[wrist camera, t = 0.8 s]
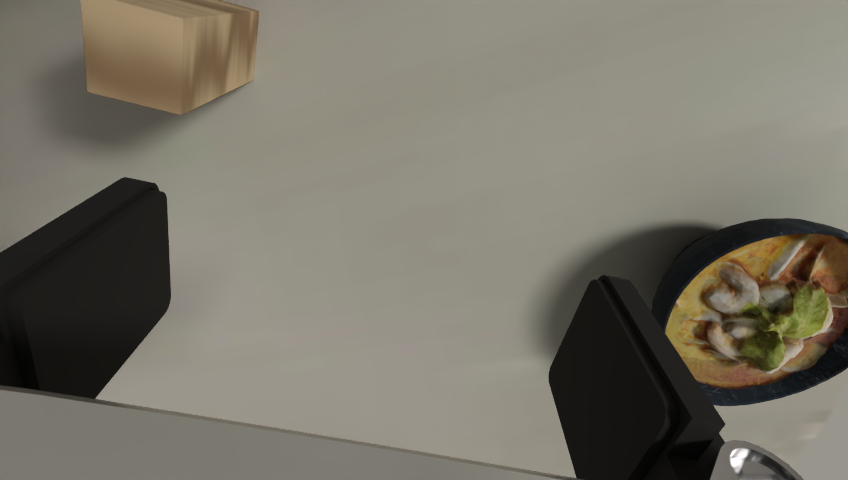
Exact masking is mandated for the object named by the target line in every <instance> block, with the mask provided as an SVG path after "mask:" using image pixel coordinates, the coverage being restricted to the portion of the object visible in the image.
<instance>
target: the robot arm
mask: <svg viewBox="0 0 848 480" xmlns="http://www.w3.org/2000/svg"><path fill="white" fill-rule="evenodd" d="M170 300H171V287H170V263H169V239H168V215H167V198H166V195H165V193H164V192H161V191H159V189H158V186H157V185H156V184H155V183H151V182H146V181H141V180H136V179H131V178H126V177H124V178H121V179H120V180H118V181H116V182H115V183H113V184H111V185H110V186H108V187H107V188H105V189H103V190H102V191H100V192H98V193H97V194H95V195H94V196H92V197H90V198H89V199H87V200H85V201H84V202H82V203H80V204H79V205H77V206H76V207H74V208H72V209H71V210H69V211H67V212H66V213H64V214H63V215H61V216H59V217H58V218H56V219H54V220H53V221H51V222H50V223H48V224H46V225H45V226H43V227H41V228H40V229H38V230H37V231H35V232H33V233H32V234H30V235H28V236H27V237H25V238H24V239H22V240H20V241H19V242H17V243H15V244H14V245H12V246H11V247H9V248H7V249H6V250H4V251H2V252H1V253H0V480H803V478H802V477H801V476H800V475H799V474H798V473H797V472H796V471H795V470H794V469H793V468H791V467H790V466H789V465H788V464H787V463H786V462H784V461H783V460H781V459H780V458H779V457H777V456H776V455H774V454H773V453H771V452H769V451H767V450H765V449H764V448H762V447H760V446H758V445H755V444H752V443H749V442H746V441H739V440H732V441H728V442H724V440H723V439H722V437H721V436H720V434H719V432H720V431H721V429H722V428H723V427H724V425H725V423H724V421H723V420H722V418H721V417H720V415H719V414H718V412H717V411H716V409H715V408H714V406H713V405H712V403H711V402H710V400H709V399H708V397H707V396H706V394H705V393H704V391H703V390H702V388H701V387H700V385H699V384H698V382H697V381H696V379H695V378H694V376H693V375H692V373H691V372H690V370H689V369H688V367H687V366H686V364H685V363H684V361H683V360H682V358H681V357H680V355H679V353H678V352H677V350H676V349H675V347H674V346H673V344H672V343H671V341H670V340H669V338H668V337H667V335H666V334H665V332H664V331H663V329H662V328H661V326H660V325H659V323H658V322H657V320H656V319H655V317H654V316H653V314H652V313H651V311H650V310H649V308H648V307H647V305H646V304H645V302H644V301H643V299H642V298H641V296H640V295H639V293H638V292H637V290H636V289H635V287H634V286H633V284H632V283H631V282H630V281H629V280H625V279H620V278H616V277H611V276H606V275H603V276H601V277H600V278H599V279H598V280H592V281H591V282H590V283H589V285H588V287H587V289H586V291H585V294H584V296H583V298H582V300H581V302H580V304H579V307H578V309H577V311H576V313H575V315H574V317H573V319H572V322H571V324H570V326H569V328H568V330H567V332H566V335H565V337H564V339H563V341H562V343H561V345H560V347H559V350H558V352H557V354H556V356H555V358H554V360H553V363H552V365H551V367H550V371H549V384H550V387H551V391H552V394H553V398H554V401H555V405H556V408H557V412H558V415H559V419H560V422H561V425H562V429H563V432H564V436H565V439H566V443H567V446H568V450H569V453H570V457H571V460H572V464H573V467H574V470H575V474H576V477H577V478H571V477H566V476H560V475H554V474H548V473H542V472H536V471H530V470H525V469H519V468H513V467H507V466H501V465H495V464H490V463H484V462H478V461H472V460H466V459H460V458H454V457H449V456H443V455H437V454H431V453H425V452H419V451H413V450H407V449H401V448H395V447H389V446H383V445H377V444H371V443H365V442H359V441H352V440H346V439H340V438H334V437H328V436H322V435H316V434H310V433H304V432H298V431H292V430H285V429H279V428H273V427H267V426H261V425H255V424H249V423H242V422H236V421H230V420H223V419H217V418H211V417H205V416H198V415H192V414H186V413H179V412H173V411H167V410H161V409H154V408H148V407H142V406H135V405H129V404H123V403H117V402H110V401H104V400H98V399H95V398H96V397H97V395H98V394H99V393H100V392H101V391H102V389H103V388H104V387H105V386H106V384H107V383H108V382H109V381H110V380H111V378H112V377H113V376H114V375H115V374H116V372H117V371H118V370H119V369H120V367H121V366H122V365H123V364H124V363H125V361H126V360H127V359H128V358H129V357H130V355H131V354H132V353H133V352H134V350H135V349H136V348H137V347H138V346H139V344H140V343H141V342H142V341H143V340H144V338H145V337H146V336H147V335H148V333H149V332H150V331H151V330H152V329H153V327H154V326H155V325H156V324H157V323H158V321H159V320H160V319H161V318H162V316H163V315H164V314H165V313H166V311H167V309H168V307H169V304H170Z"/></svg>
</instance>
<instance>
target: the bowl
mask: <svg viewBox="0 0 848 480" xmlns="http://www.w3.org/2000/svg"><path fill="white" fill-rule="evenodd" d="M651 313H652V314H653V316H654V317H655V319H656V320H657V322H658V323H659V325H660V326H661V328H662V329H663V331H664V332H665V334H666V335H667V337H668V338H669V340H670V341H671V343H672V344H673V346H674V347H675V349H676V350H677V352H678V353H679V355H680V357H681V358H682V360H683V361H684V363H685V364H686V366H687V367H688V369H689V370H690V372H691V373H692V375H693V376H694V378H695V379H696V381H697V382H698V384H699V385H700V387H701V388H702V390H703V391H704V393H705V394H706V396H707V397H708V399H709V400H710V402H711V403H712V405H718V406H738V405H749V404H755V403H761V402H765V401H770V400H774V399H778V398H782V397H785V396H789V395H792V394H795V393H798V392H801V391H804V390H807V389H809V388H811V387H814V386H816V385H818V384H820V383H822V382H824V381H826V380H828V379H830V378H832V377H834V376H836V375H837V374H839V373H841V372H843V371H844V370H846V369H847V368H848V233H847V232H845V231H844V230H840V229H837V228H834V227H831V226H828V225H824V224H819V223H815V222H810V221H806V220H801V219H790V218H786V219H759V220H753V221H747V222H743V223H740V224H736V225H732V226H729V227H726V228H723V229H721V230H719V231H716V232H714V233H711V234H709V235H706V236H704V237H702V238H700V239H698V240H696V241H694V242H693V243H692V244H690V245H689V246H687V247H686V248H685V249H684V250H683V251H682V252H681V253H680V254H679V255H678V256H677V258H676V259H675V261H674V263H673V264H672V265H671V267H670V268H669V269H668V271H667V272H666V274H665V275H664V277H663V279H662V281H661V282H660V284H659V286H658V288H657V291H656V294H655V297H654V300H653V305H652V311H651Z"/></svg>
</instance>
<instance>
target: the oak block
mask: <svg viewBox="0 0 848 480" xmlns="http://www.w3.org/2000/svg"><path fill="white" fill-rule="evenodd" d="M81 12H82V26H83V40H84V54H85V68H86V82H87V92H90V93H94V94H98V95H102V96H106V97H110V98H114V99H118V100H122V101H126V102H131V103H135V104H139V105H143V106H147V107H151V108H155V109H159V110H163V111H167V112H171V113H175V114H179V115H183V114H185V113H187V112H189V111H191V110H193V109H195V108H197V107H199V106H201V105H203V104H205V103H207V102H209V101H211V100H213V99H215V98H217V97H219V96H221V95H224V94H226V93H228V92H230V91H232V90H234V89H236V88H238V87H240V86H242V85H244V84H246V83H248V82H250V81H252V80H253V77H254V65H255V53H256V42H257V30H258V18H259V11H257V10H254V9H250V8H246V7H243V6H239V5H236V4H232V3H228V2H225V1H221V0H81Z"/></svg>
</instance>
